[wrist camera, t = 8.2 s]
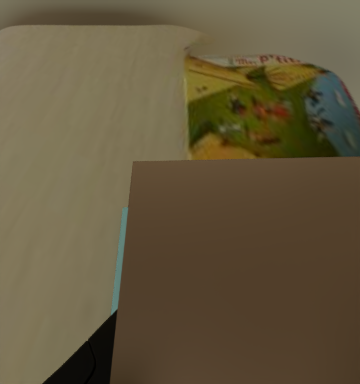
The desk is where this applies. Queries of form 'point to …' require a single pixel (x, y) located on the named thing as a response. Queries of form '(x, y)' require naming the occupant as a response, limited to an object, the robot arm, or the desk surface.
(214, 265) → the peg
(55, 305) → the desk surface
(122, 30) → the desk surface
